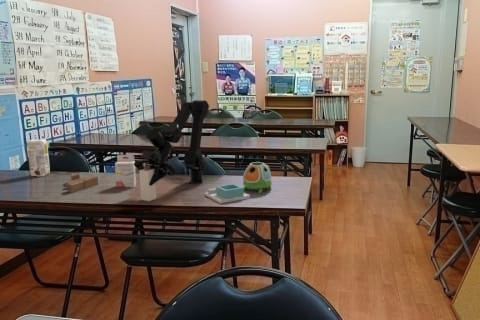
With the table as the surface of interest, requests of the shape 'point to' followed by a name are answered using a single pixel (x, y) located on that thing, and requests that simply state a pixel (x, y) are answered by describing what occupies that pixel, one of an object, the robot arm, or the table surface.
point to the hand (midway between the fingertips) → (145, 184)
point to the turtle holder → (257, 176)
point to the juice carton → (38, 157)
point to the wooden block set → (81, 182)
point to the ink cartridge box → (125, 171)
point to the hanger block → (147, 184)
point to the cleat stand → (227, 193)
